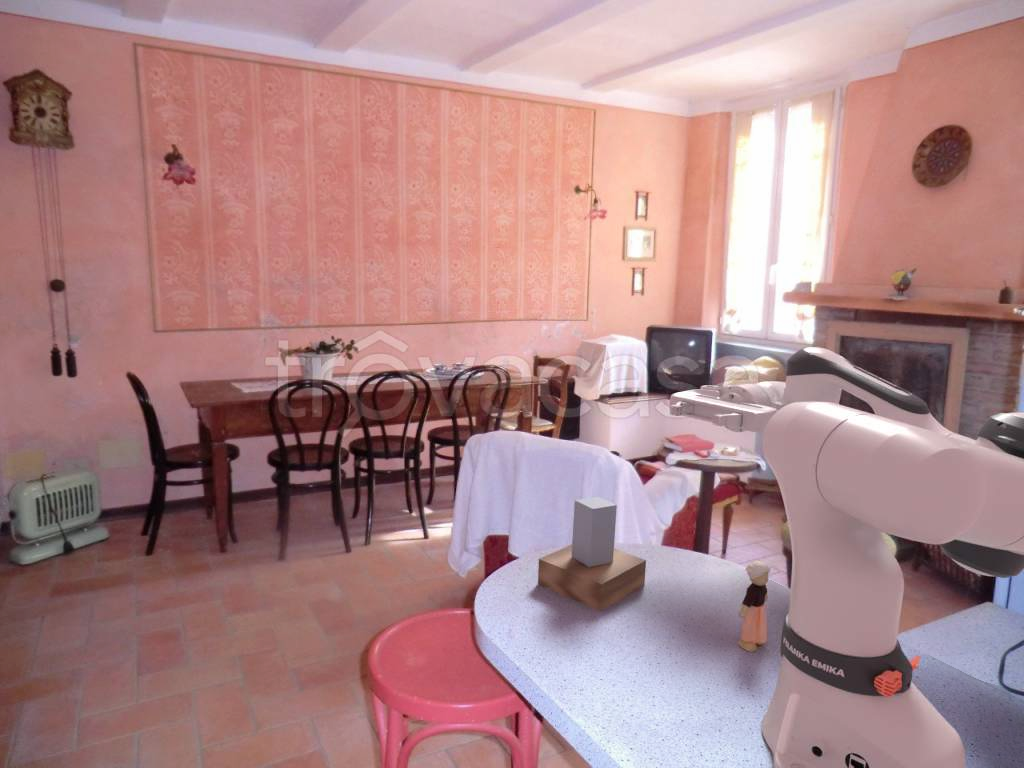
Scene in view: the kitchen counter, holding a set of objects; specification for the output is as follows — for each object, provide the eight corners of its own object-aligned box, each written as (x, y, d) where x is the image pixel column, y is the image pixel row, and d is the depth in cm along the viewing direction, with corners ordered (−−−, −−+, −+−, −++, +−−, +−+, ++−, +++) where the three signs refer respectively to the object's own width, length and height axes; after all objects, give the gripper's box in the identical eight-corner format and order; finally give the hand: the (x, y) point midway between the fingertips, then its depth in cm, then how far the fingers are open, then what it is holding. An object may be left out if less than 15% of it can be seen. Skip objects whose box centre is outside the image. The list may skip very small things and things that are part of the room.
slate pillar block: (612, 562, 116) (616, 505, 115) (589, 567, 113) (592, 508, 112) (594, 551, 120) (598, 496, 119) (571, 556, 118) (574, 500, 116)
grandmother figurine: (759, 658, 96) (767, 574, 94) (732, 650, 98) (739, 567, 96) (772, 635, 103) (780, 555, 101) (746, 627, 105) (753, 549, 103)
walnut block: (644, 587, 118) (646, 560, 117) (600, 613, 109) (601, 584, 108) (583, 563, 127) (584, 538, 126) (537, 586, 117) (538, 558, 117)
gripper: (790, 435, 122) (743, 445, 114) (696, 414, 138) (649, 422, 130) (793, 400, 121) (746, 408, 113) (698, 383, 137) (651, 389, 129)
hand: (693, 415), depth 121 cm, fingers open, 8 cm apart
